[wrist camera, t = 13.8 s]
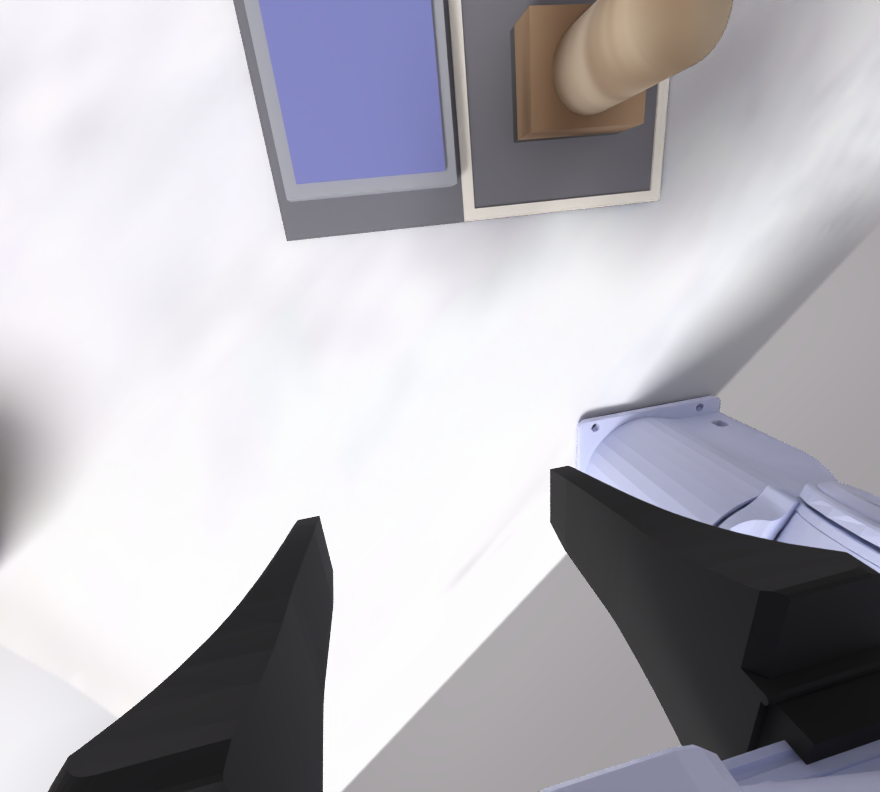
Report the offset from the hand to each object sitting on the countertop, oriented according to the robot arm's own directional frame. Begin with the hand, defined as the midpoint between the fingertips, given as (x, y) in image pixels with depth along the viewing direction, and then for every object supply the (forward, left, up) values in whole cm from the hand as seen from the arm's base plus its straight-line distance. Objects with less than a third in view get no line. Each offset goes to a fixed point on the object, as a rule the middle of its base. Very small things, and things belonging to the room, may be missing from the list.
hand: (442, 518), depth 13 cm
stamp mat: (-5, -13, -10) cm, 18 cm away
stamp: (-9, -13, -10) cm, 19 cm away
